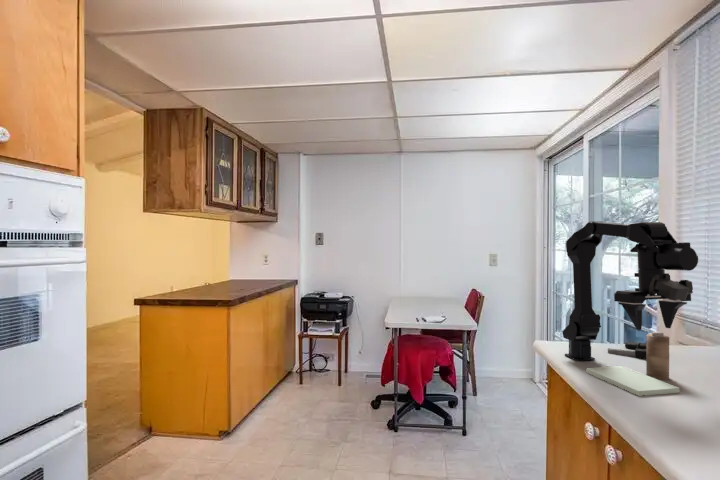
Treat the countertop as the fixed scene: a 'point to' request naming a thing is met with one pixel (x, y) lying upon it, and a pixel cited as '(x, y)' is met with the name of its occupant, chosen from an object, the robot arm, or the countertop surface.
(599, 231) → the robot arm
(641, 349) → the door handle
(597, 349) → the countertop surface
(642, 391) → the serving board
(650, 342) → the brown capped cylinder
